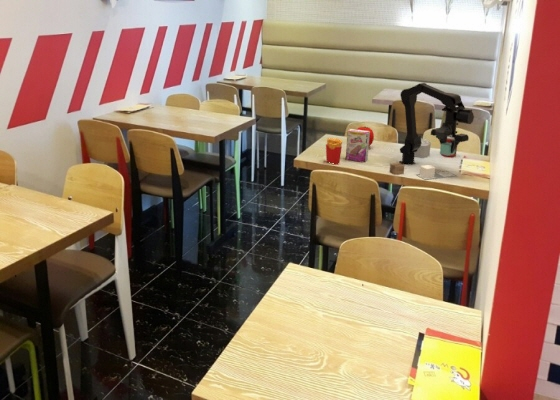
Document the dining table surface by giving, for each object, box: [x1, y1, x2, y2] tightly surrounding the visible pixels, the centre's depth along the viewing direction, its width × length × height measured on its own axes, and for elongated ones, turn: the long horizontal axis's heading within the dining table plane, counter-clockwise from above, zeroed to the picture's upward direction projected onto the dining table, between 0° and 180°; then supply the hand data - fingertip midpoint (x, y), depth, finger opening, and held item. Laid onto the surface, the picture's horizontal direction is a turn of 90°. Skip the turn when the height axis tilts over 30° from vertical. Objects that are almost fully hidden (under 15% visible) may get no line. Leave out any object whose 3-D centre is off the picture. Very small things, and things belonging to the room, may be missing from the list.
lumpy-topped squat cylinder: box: [414, 137, 432, 159], centre depth 300 cm, size 10×13×9 cm
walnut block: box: [389, 162, 405, 176], centre depth 269 cm, size 5×5×5 cm
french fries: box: [325, 137, 343, 165], centre depth 283 cm, size 9×4×13 cm, turn 51°
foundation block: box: [419, 164, 436, 179], centre depth 263 cm, size 5×5×5 cm
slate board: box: [415, 170, 457, 181], centre depth 266 cm, size 9×19×1 cm, turn 111°
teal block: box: [439, 142, 455, 156], centre depth 266 cm, size 5×5×5 cm
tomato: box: [356, 126, 375, 147], centre depth 310 cm, size 11×11×13 cm
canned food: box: [440, 136, 458, 158], centre depth 298 cm, size 8×8×11 cm
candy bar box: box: [345, 128, 370, 163], centre depth 287 cm, size 11×5×16 cm, turn 65°
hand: (447, 151), depth 266 cm, fingers closed on teal block, 5 cm apart
